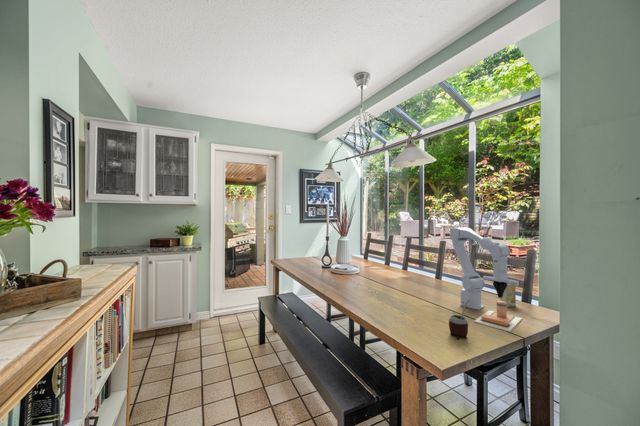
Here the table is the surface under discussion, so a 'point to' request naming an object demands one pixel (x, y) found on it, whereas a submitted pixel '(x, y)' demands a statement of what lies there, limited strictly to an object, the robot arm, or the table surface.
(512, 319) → the picture board
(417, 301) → the table surface
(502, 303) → the cylinder
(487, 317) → the button
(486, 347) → the table surface
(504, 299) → the skincare box
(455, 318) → the mate gourd
